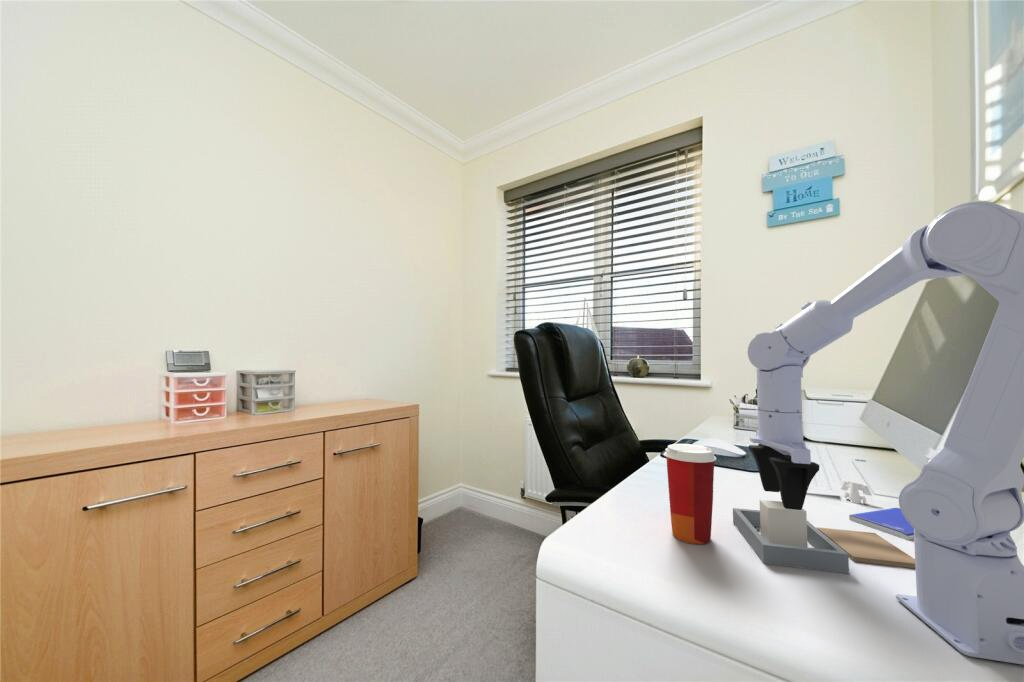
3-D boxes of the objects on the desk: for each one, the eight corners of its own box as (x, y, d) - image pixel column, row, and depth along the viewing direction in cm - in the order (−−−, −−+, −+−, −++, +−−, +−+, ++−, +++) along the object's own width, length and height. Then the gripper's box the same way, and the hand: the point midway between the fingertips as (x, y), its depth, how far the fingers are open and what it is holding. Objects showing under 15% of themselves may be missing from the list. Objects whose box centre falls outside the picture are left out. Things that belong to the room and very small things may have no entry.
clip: (873, 504, 76) (872, 485, 76) (870, 506, 75) (869, 486, 75) (841, 497, 80) (840, 478, 81) (837, 498, 79) (837, 480, 80)
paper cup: (712, 529, 64) (710, 444, 65) (723, 551, 57) (721, 455, 58) (662, 523, 67) (660, 441, 67) (667, 544, 59) (665, 451, 60)
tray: (849, 573, 51) (848, 554, 51) (763, 563, 54) (763, 544, 54) (799, 529, 65) (799, 514, 65) (733, 522, 67) (732, 508, 67)
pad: (923, 569, 52) (923, 564, 52) (853, 561, 54) (853, 556, 54) (875, 536, 62) (874, 532, 62) (816, 531, 64) (816, 527, 64)
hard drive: (907, 533, 61) (954, 523, 65) (848, 513, 69) (894, 506, 73) (907, 543, 61) (955, 533, 65) (849, 522, 69) (894, 514, 73)
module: (807, 552, 57) (806, 511, 57) (769, 548, 58) (768, 507, 58) (796, 542, 60) (795, 502, 61) (760, 538, 61) (759, 499, 62)
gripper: (736, 404, 68) (737, 482, 68) (768, 416, 54) (770, 514, 54) (781, 405, 66) (783, 486, 66) (827, 418, 52) (830, 520, 52)
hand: (781, 499), depth 60 cm, fingers open, 7 cm apart
